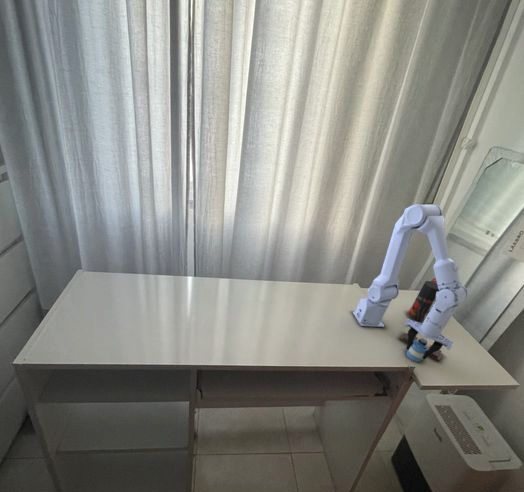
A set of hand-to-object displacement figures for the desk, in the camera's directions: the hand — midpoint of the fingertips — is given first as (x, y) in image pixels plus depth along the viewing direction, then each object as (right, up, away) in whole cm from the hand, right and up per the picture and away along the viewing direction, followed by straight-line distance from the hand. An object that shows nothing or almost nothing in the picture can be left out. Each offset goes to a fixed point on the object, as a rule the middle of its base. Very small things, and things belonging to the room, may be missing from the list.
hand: (416, 352), depth 104 cm
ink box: (+17, +14, +29) cm, 36 cm away
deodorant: (+10, +11, +22) cm, 27 cm away
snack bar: (+4, +1, +6) cm, 7 cm away
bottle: (0, -1, +1) cm, 2 cm away
